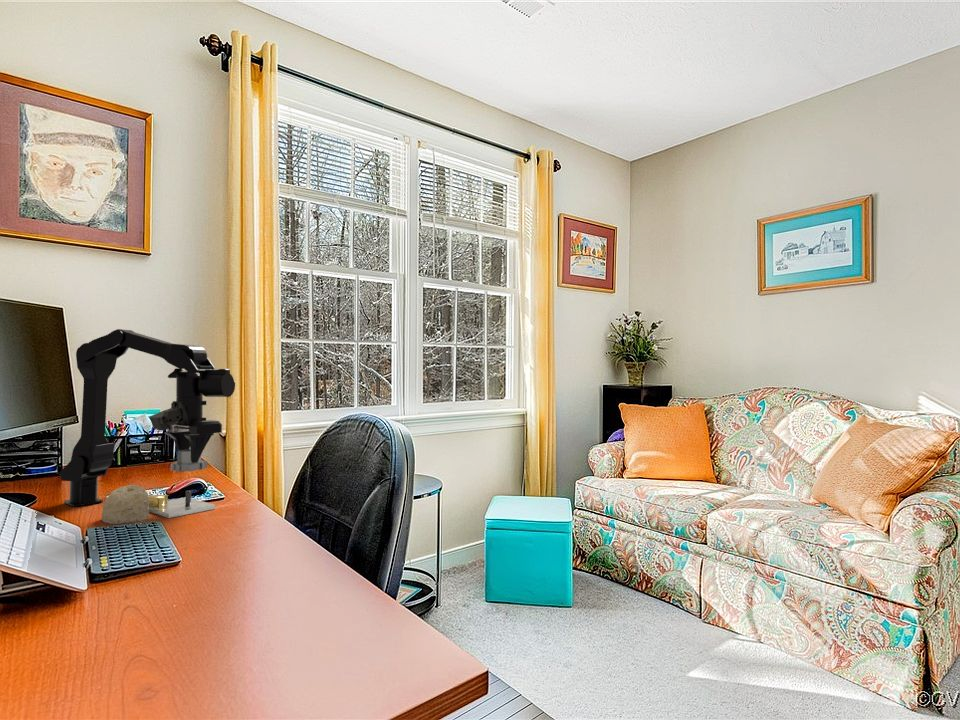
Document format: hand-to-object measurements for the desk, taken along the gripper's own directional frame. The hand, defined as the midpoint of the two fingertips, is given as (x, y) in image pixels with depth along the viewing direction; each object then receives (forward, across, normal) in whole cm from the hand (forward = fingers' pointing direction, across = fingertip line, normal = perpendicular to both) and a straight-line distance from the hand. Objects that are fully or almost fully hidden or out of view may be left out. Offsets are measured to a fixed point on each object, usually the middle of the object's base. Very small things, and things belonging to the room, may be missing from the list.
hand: (189, 461), depth 138 cm
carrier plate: (+11, -2, -1) cm, 12 cm away
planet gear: (+2, 0, 0) cm, 2 cm away
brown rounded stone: (+12, -2, -13) cm, 18 cm away
